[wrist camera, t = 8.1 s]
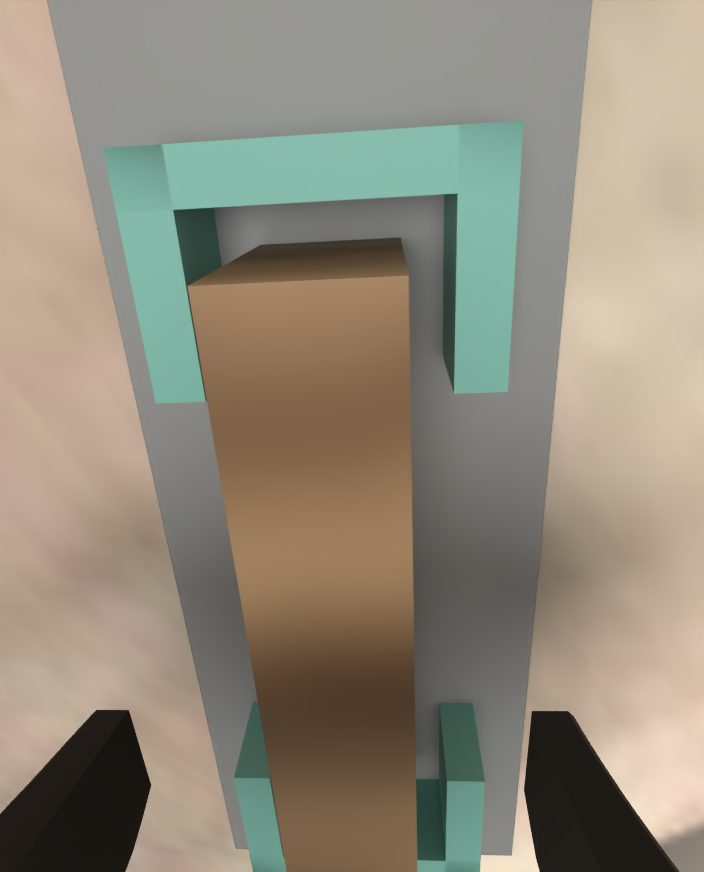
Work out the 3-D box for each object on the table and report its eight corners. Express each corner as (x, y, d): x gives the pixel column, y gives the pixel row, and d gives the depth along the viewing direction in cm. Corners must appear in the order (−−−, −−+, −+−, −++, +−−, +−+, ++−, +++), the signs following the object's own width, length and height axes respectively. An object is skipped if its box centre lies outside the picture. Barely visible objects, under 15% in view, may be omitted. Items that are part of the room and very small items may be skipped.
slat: (410, 756, 19) (418, 942, 14) (319, 755, 19) (297, 937, 14) (400, 237, 12) (408, 275, 8) (260, 245, 12) (187, 285, 8)
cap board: (506, 826, 22) (527, 940, 18) (241, 821, 22) (217, 929, 19) (580, -52, 11) (660, -144, 8) (68, -7, 12) (-52, -75, 8)
